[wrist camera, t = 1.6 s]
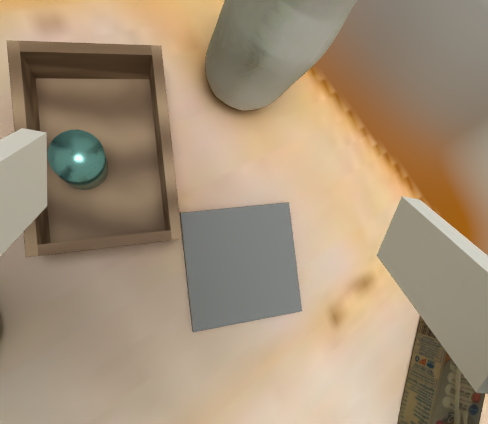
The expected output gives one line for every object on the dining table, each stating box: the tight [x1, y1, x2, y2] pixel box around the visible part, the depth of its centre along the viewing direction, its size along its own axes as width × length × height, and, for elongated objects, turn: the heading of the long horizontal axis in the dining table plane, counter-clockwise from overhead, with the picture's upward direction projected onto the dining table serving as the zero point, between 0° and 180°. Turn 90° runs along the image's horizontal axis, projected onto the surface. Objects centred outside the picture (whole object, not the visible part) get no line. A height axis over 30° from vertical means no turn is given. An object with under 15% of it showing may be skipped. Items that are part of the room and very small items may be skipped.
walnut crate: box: [7, 41, 182, 257], centre depth 39 cm, size 20×14×7 cm
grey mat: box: [180, 202, 302, 332], centre depth 46 cm, size 14×14×1 cm
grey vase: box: [205, 0, 357, 110], centre depth 35 cm, size 10×10×28 cm
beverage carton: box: [398, 317, 485, 424], centre depth 50 cm, size 8×19×7 cm, turn 163°
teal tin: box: [47, 130, 108, 190], centre depth 38 cm, size 5×5×6 cm
